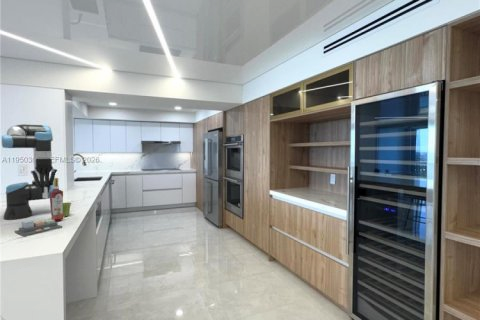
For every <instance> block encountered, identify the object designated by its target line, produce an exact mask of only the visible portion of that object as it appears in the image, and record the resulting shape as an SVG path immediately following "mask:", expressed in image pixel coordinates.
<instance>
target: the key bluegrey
mask: <svg viewBox="0 0 480 320" xmlns="http://www.w3.org/2000/svg"><path fill="white" fill-rule="evenodd" d="M34 223H35V222H34V220H25V221H21V227H22V228H24V229H26V228H31V227H34Z"/></svg>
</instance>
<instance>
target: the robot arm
mask: <svg viewBox="0 0 480 320" xmlns="http://www.w3.org/2000/svg"><path fill="white" fill-rule="evenodd" d="M53 138H54V136H53V133H52V128H51V127H50V125H44V124H16V125H13V126H11V127H9V128H8V129H7V130H6V134H3V135H1V146H2V148H4V149H32V150H33V170H31V171H30V173H31V174H32V177H33V180H32V181H31V183H29V182H27V181H25V182H19V183H17V182H16V183H12V184H9V185H7V186H6V187H5V195H6V197H5V198H6V208H5V211H4V213H3V220H6V221H7V220H8V221H9V220H10V221H11V220H19V219H20V220H21V219H26V218H29V217H32V216H33V210H32V208H31V206H30V201H37V200H38V201H39V200H47V199H48V200H50V195H49V192H51V191H53V188H54V178H56V177H55V176H56V173H57V172H58V169H56V168H54V167H53V158H52V142H53V141H54V139H53Z"/></svg>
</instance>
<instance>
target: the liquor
mask: <svg viewBox="0 0 480 320" xmlns="http://www.w3.org/2000/svg"><path fill="white" fill-rule="evenodd" d="M49 195H50V198H49V204H50V214H51V215H50V216H51V218H50V219H53V220H55V222H61V221H62V220H63V219H64V217H63V203H64V191H63V190H61V189H60V186H59V177H54V188H53V191H51V192H49Z"/></svg>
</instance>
